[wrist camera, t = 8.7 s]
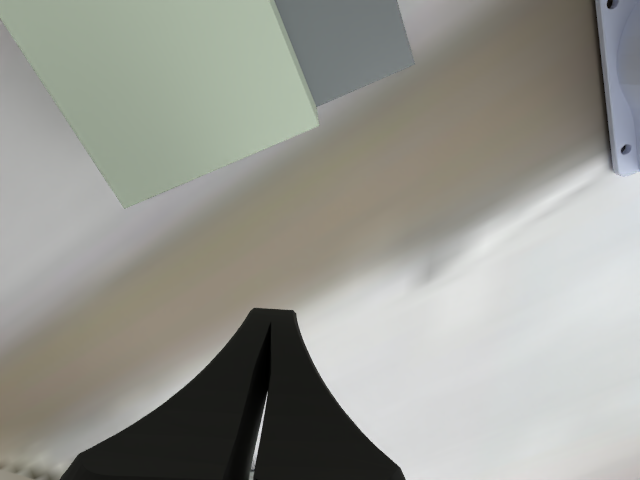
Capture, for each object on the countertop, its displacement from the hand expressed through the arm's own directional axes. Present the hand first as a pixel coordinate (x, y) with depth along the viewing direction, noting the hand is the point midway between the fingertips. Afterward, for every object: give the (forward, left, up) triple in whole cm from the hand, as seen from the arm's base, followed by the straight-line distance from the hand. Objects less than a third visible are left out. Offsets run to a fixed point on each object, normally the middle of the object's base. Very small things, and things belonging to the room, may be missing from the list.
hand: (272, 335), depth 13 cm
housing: (+9, 0, -9) cm, 13 cm away
